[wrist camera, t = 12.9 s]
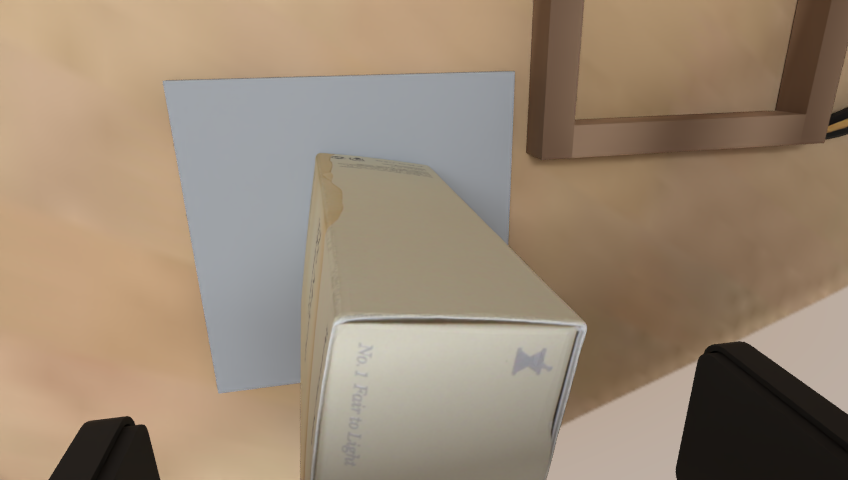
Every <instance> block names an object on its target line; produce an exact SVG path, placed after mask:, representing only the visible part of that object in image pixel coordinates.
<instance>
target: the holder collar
mask: <svg viewBox="0 0 848 480" xmlns="http://www.w3.org/2000/svg"><path fill="white" fill-rule="evenodd" d="M583 9H584V0H534V6H533V26H532V47H531V68H530V88H529V109H528V129H527V150H526V153H528V154H530V155H532V156H535V157H537V158H539V159H541V160H547V159H564V158H581V157H597V156H614V155H631V154H648V153H664V152H681V151H698V150H714V149H731V148H748V147H765V146H781V145H798V144H815V143H824V142H825V137H826V133H827V129H828V125H829V121H830V117H831V112H832V108H833V104H834V100H835V96H836V92H837V87H838V83H839V79H840V75H841V71H842V67H843V62H844V58H845V54H846V50H847V46H848V0H798V3H797V8H796V13H795V18H794V23H793V28H792V33H791V38H790V43H789V48H788V52H787V57H786V62H785V67H784V72H783V77H782V82H781V87H780V92H779V96H778V101H777V106H776V111H755V112H733V113H711V114H689V115H667V116H645V117H624V118H602V119H580V120H575V112H576V99H577V86H578V73H579V61H580V48H581V35H582V22H583Z"/></svg>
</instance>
